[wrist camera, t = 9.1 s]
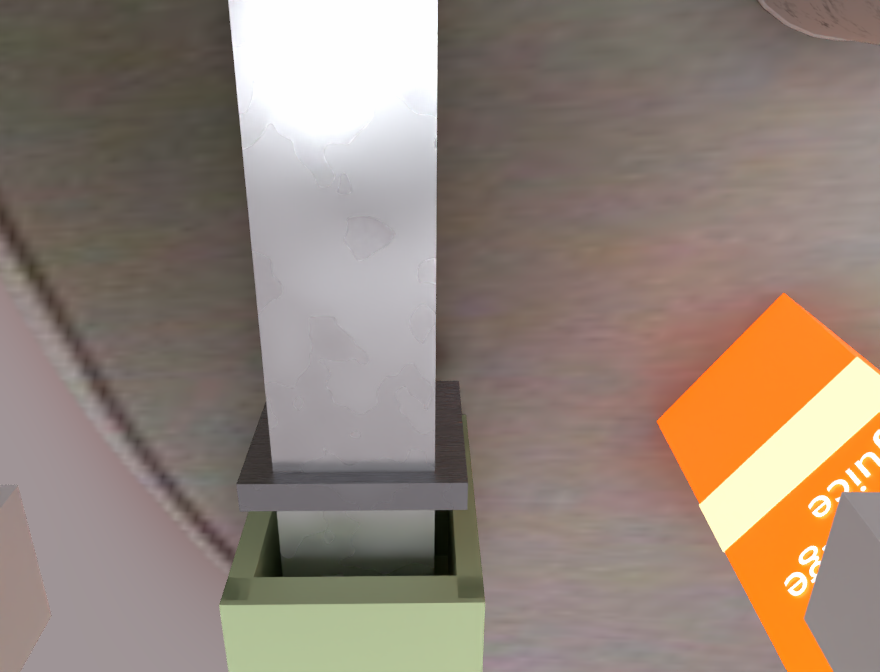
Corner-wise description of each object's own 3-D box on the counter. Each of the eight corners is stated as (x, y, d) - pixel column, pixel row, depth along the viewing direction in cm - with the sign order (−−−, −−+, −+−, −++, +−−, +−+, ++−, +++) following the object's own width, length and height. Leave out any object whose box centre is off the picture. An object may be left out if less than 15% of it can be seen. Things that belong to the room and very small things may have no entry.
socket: (279, 415, 34) (219, 605, 24) (466, 415, 34) (485, 602, 24) (290, 546, 37) (241, 764, 27) (462, 545, 37) (478, 761, 27)
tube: (225, -153, 23) (155, -196, 17) (469, -150, 23) (486, -191, 17) (287, 545, 33) (258, 671, 27) (455, 543, 34) (463, 669, 28)
